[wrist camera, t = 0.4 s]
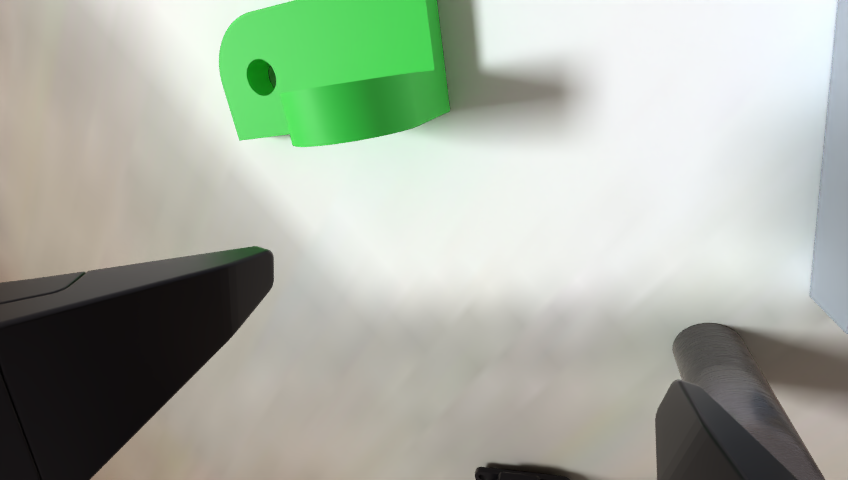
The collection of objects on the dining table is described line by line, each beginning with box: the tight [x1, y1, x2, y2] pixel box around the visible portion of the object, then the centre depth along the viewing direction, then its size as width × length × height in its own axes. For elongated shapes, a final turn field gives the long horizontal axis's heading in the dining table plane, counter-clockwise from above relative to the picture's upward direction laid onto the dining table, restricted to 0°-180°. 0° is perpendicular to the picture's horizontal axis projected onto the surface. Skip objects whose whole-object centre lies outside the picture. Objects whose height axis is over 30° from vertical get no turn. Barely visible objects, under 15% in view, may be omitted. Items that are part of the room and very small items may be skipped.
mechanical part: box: [219, 0, 450, 147], centre depth 19 cm, size 12×6×8 cm, turn 99°
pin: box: [673, 323, 825, 480], centre depth 17 cm, size 3×3×10 cm
